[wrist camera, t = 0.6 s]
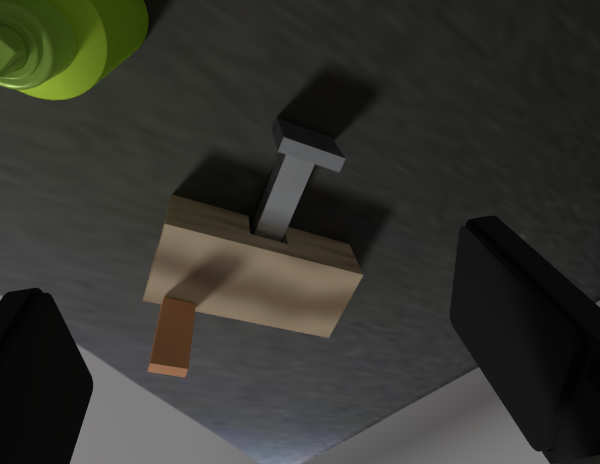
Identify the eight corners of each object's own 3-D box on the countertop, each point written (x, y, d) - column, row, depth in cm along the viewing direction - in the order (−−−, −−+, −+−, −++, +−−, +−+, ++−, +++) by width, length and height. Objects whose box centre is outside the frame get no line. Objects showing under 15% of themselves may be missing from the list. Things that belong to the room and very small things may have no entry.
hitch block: (172, 194, 39) (164, 223, 34) (349, 244, 44) (363, 274, 40) (151, 265, 42) (142, 300, 38) (318, 303, 48) (328, 337, 43)
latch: (150, 363, 32) (147, 371, 32) (188, 369, 33) (184, 377, 33) (163, 297, 38) (161, 305, 38) (195, 303, 38) (193, 311, 39)
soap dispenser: (35, 22, 31) (-200, 79, 14) (95, -55, 29) (-87, -97, 12) (106, 84, 34) (-17, 196, 17) (165, 17, 32) (96, 65, 15)
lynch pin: (276, 117, 37) (283, 137, 32) (331, 137, 38) (345, 158, 34) (220, 269, 43) (219, 302, 39) (268, 280, 45) (273, 313, 41)
